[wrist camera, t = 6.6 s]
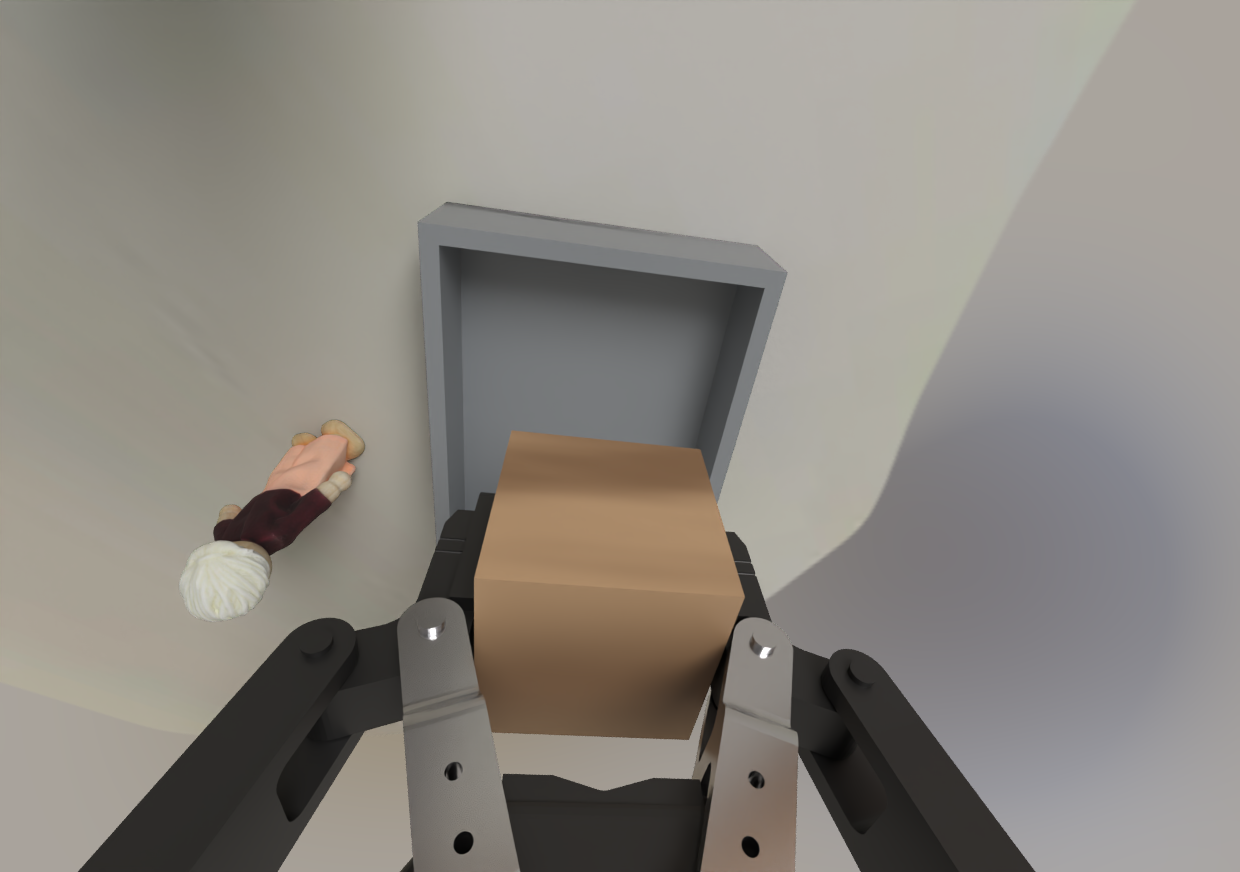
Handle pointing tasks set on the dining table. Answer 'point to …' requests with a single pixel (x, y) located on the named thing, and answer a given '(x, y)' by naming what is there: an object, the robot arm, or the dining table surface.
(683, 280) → the tote
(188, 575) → the grandmother figurine
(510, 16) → the dining table surface
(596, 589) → the walnut block
